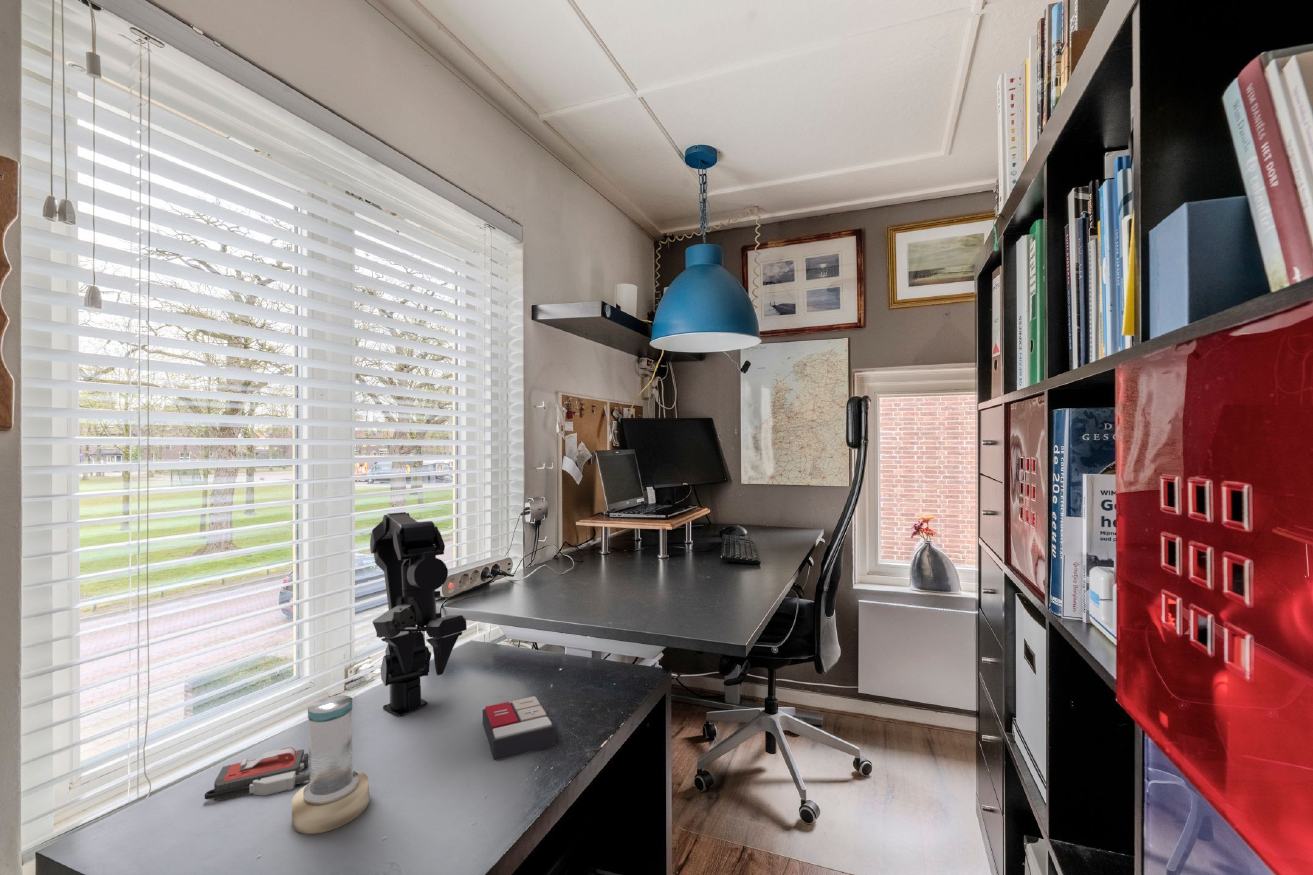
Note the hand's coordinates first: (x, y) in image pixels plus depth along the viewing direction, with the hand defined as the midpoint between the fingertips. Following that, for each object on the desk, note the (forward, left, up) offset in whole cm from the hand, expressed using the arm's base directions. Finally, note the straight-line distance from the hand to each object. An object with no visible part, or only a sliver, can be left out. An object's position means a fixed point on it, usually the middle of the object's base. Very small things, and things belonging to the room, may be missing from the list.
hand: (423, 673), depth 103 cm
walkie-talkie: (-9, -20, -13) cm, 25 cm away
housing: (+6, -19, -9) cm, 22 cm away
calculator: (+13, +11, -13) cm, 21 cm away
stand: (+6, -19, -12) cm, 24 cm away
